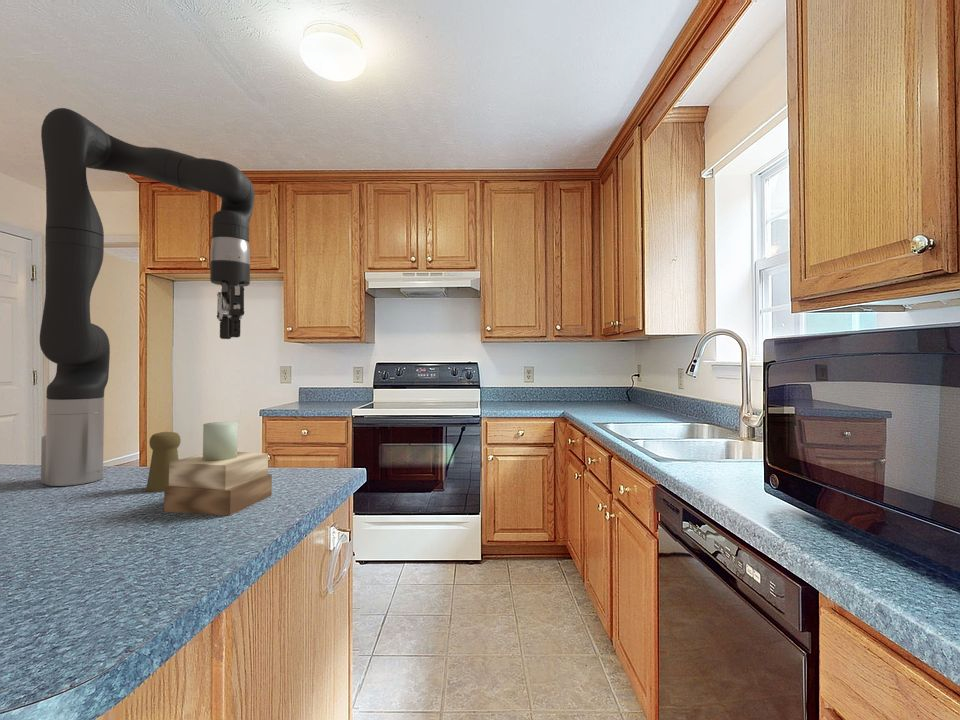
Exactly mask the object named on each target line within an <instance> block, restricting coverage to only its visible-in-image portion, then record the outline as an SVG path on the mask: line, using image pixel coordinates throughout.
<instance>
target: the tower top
mask: <svg viewBox="0 0 960 720" xmlns="http://www.w3.org/2000/svg"><path fill="white" fill-rule="evenodd" d="M268 474H269V453H266V452H265V453H263V452H262V453H261V452H246V451H243V452H242V451H237V457H236V458H233V459H228V460H217V461H210V460H203V453H202V454H198V455H194V456H188V457H185V458H181V459H179V460H176V461H171V462H169V486H180V487H193V488H206V489H220V490H226V489H229V488H232V487H235V486H238V485H241V484H244V483H247V482H249V481H252V480H255V479H258V478H261V477H264V476H267V475H268Z"/></svg>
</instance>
